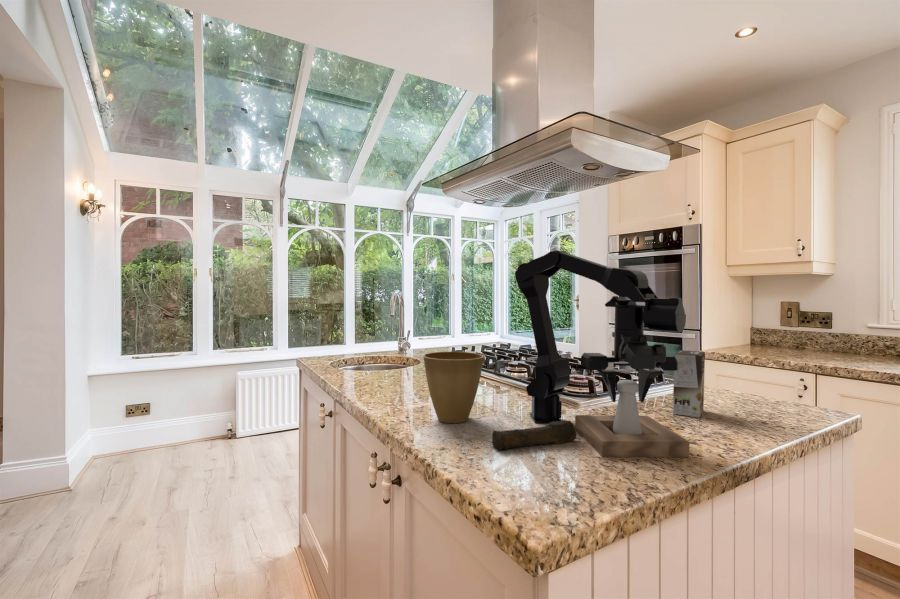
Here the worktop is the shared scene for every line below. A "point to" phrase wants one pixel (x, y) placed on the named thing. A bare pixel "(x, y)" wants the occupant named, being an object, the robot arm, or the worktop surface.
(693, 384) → the coffee box
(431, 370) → the plant pot
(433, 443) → the worktop surface
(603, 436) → the socket board
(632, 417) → the salt shaker
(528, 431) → the dark brown log
